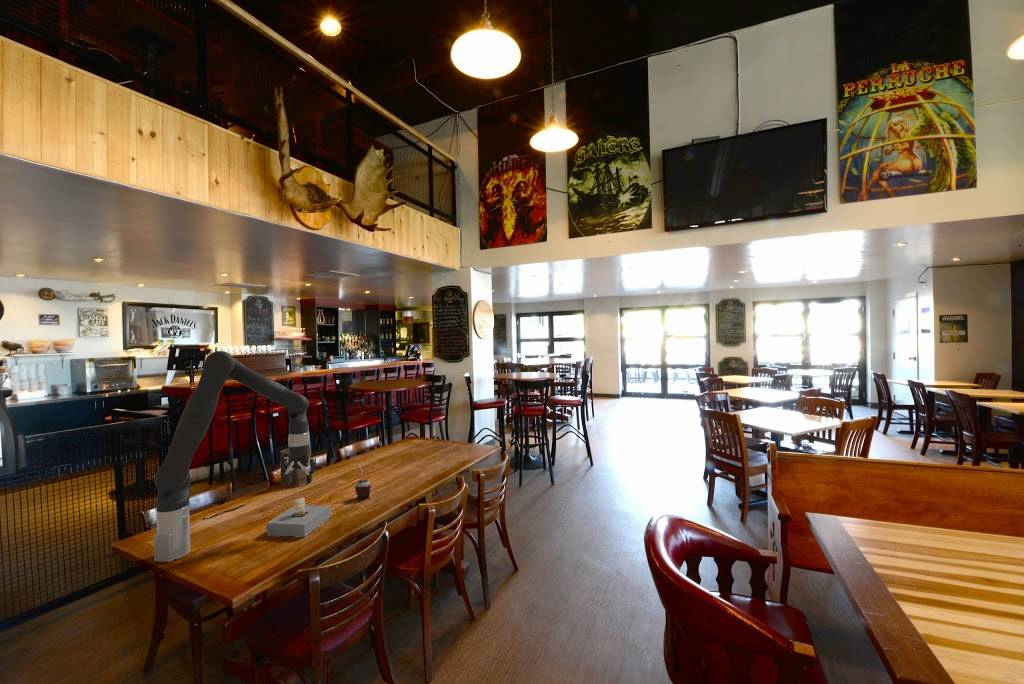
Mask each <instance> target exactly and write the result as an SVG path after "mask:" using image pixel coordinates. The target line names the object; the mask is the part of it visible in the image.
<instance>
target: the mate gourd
mask: <svg viewBox="0 0 1024 684" xmlns="http://www.w3.org/2000/svg"><path fill="white" fill-rule="evenodd" d="M358 467H359V469H360V470H359V471H360V476H361V480H358V481H357V482H356V483H355V488H354V491H355V494H356V496H357V497H356V498H357V499H358V500H361V501H362V500H364V499H363V498H369V499H370V493H371V489H372V485H371V482H370V481H369V480H368V479H364V478H363V477H364V476H363V470H362V467H361V465H360V464H358Z"/></svg>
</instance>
